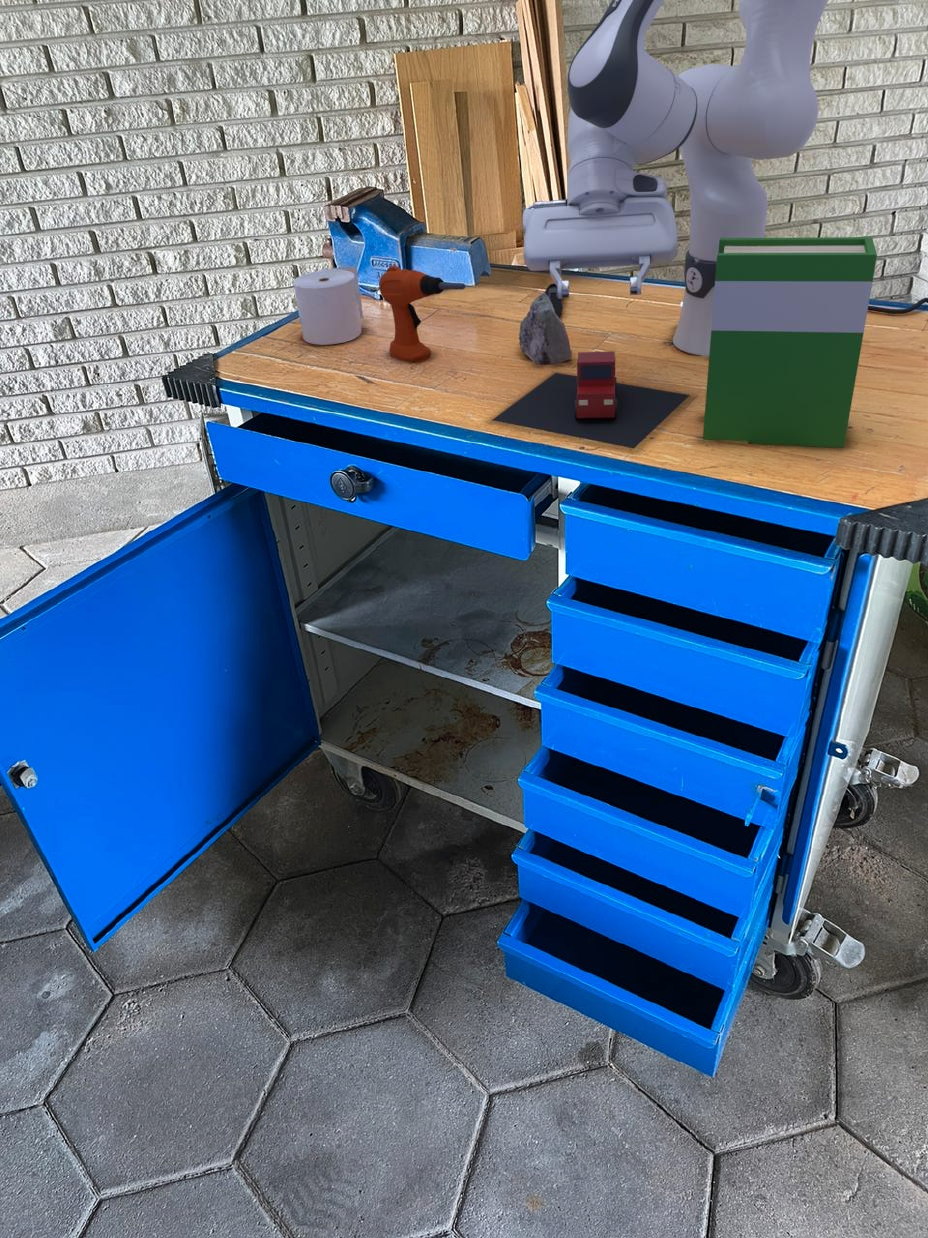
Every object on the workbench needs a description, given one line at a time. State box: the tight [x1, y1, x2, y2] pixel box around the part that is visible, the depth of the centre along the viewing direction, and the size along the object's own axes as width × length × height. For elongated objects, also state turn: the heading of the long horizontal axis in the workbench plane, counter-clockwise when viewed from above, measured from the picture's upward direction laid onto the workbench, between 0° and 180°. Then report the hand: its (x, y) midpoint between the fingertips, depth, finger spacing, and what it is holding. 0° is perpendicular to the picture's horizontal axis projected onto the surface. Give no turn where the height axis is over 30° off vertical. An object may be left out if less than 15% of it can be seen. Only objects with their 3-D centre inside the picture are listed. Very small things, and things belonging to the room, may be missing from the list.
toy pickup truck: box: [575, 350, 618, 419], centre depth 136 cm, size 13×6×8 cm, turn 173°
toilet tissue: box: [292, 265, 364, 346], centre depth 170 cm, size 11×12×10 cm
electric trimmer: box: [544, 282, 564, 318], centre depth 173 cm, size 4×16×3 cm, turn 172°
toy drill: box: [378, 265, 466, 363], centre depth 154 cm, size 5×19×15 cm, turn 48°
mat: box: [492, 372, 690, 450], centre depth 138 cm, size 19×22×1 cm
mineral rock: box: [518, 292, 573, 366], centre depth 155 cm, size 13×11×10 cm
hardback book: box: [702, 236, 878, 449], centre depth 121 cm, size 18×7×24 cm, turn 75°
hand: (599, 294), depth 127 cm, fingers open, 8 cm apart
